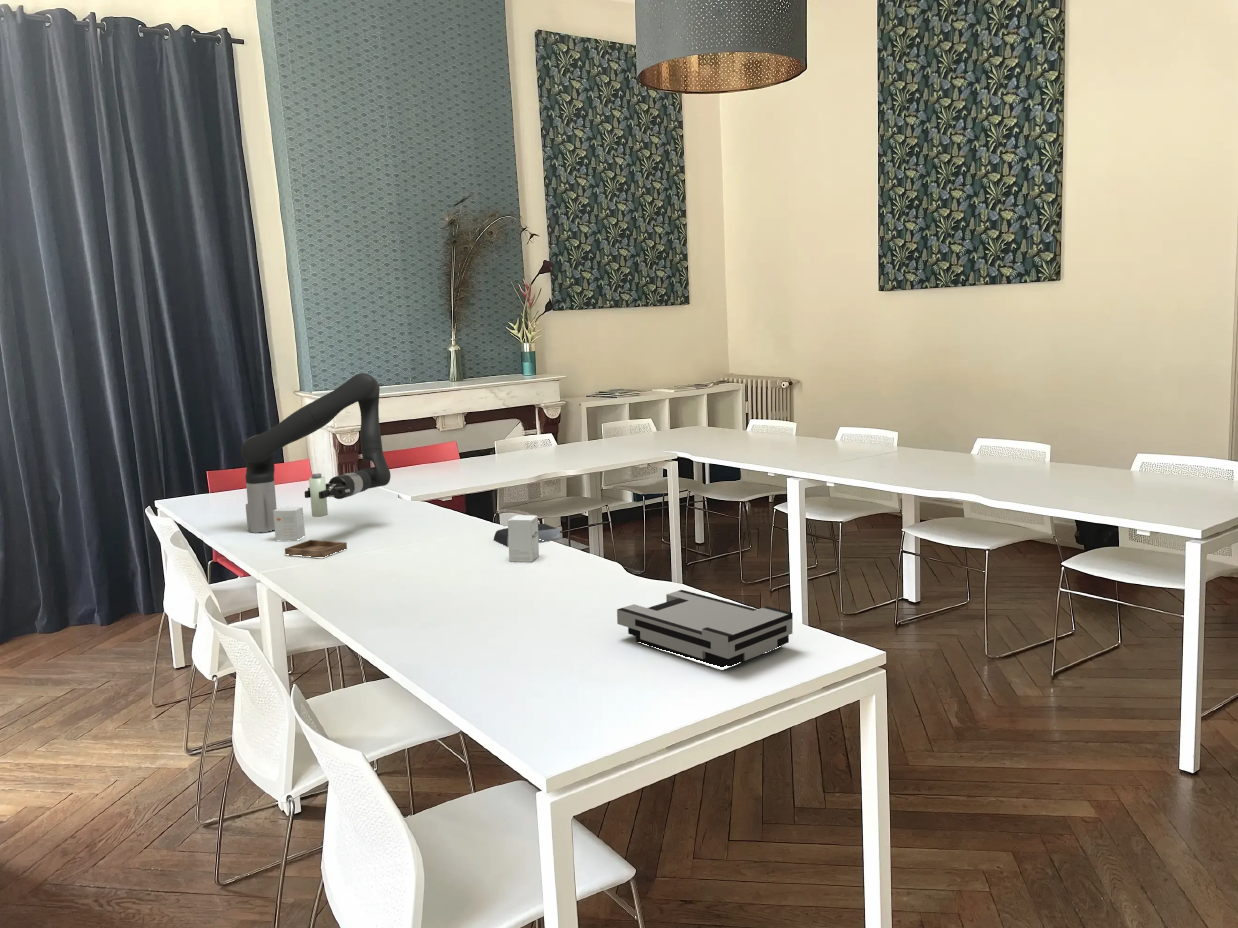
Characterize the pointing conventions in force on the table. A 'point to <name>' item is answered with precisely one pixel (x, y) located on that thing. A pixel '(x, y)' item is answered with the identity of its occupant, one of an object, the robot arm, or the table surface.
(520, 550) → the supplement box
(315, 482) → the bottle
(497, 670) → the table surface
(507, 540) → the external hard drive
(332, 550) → the tray
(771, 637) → the game console
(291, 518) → the small box
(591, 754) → the table surface
